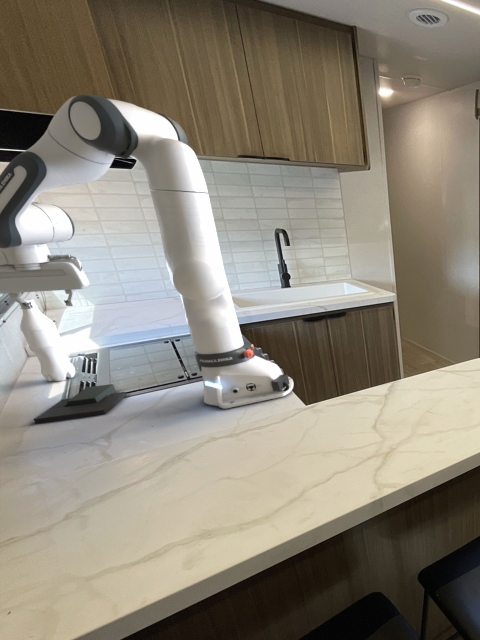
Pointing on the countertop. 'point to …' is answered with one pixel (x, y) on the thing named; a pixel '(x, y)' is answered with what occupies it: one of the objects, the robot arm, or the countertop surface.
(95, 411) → the notch mat
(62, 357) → the water bottle
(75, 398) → the pad
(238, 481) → the countertop surface
